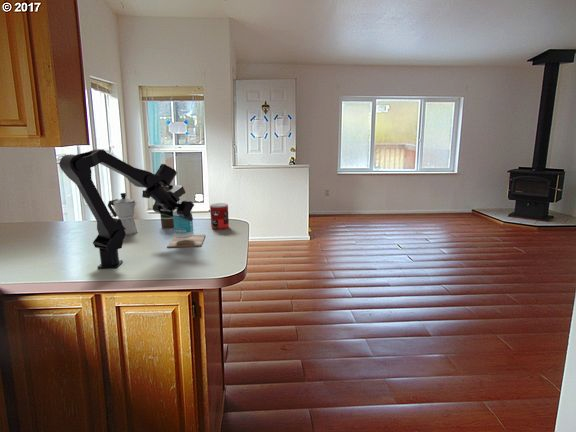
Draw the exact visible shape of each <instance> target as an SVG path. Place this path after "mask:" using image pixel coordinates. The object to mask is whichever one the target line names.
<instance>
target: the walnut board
mask: <svg viewBox="0 0 576 432" xmlns="http://www.w3.org/2000/svg"><path fill="white" fill-rule="evenodd" d="M205 237H206V234H193V236H192V237H189V238H177V237H175V235H173V237H172V238H171V240H170V241H169V243H168V244H167V246H166V248H167V249H169V248H170V249H174V248H175V249H177V248H194V247H195V248H196V247H198V248H199V246H201V245H203V243H204V240H205ZM201 247H202V246H201Z"/></svg>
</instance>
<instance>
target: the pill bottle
mask: <svg viewBox="0 0 576 432" xmlns="http://www.w3.org/2000/svg"><path fill="white" fill-rule="evenodd" d="M190 213H191V215H192V216H193V210H191V211H190ZM173 221H174V227H173V230H174V236H175V237H177V238H189V237H192V236H193V235H195V234H194V223H193V220H192V221H190V220H187V219H185V218H182V217H179V215H178V214H177V209H175V210H174V211H173Z"/></svg>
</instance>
